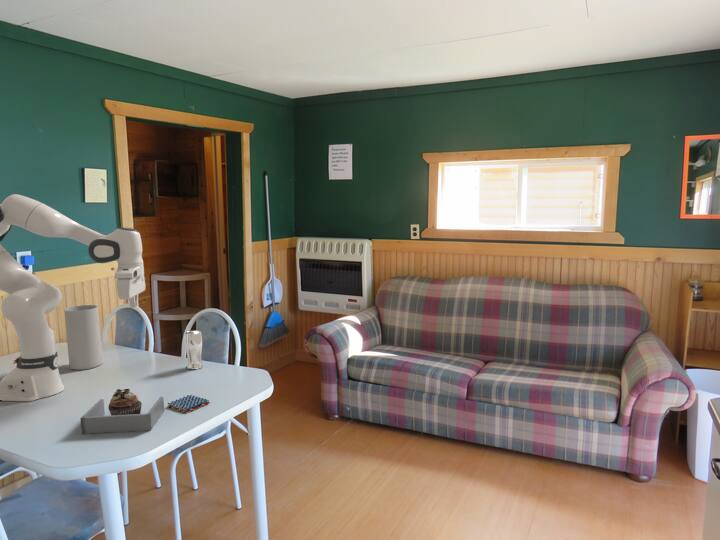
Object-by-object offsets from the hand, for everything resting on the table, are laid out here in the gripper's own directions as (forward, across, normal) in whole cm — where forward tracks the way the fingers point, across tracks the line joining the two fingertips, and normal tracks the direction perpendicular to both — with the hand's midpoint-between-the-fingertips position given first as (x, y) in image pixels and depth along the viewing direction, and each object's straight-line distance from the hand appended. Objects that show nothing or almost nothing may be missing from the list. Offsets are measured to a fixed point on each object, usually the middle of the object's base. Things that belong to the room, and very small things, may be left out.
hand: (133, 306), depth 202 cm
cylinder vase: (+29, -23, -29) cm, 47 cm away
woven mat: (+30, +28, +25) cm, 48 cm away
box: (+29, +40, +8) cm, 50 cm away
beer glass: (+29, -14, +18) cm, 37 cm away
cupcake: (+29, +38, +8) cm, 48 cm away
